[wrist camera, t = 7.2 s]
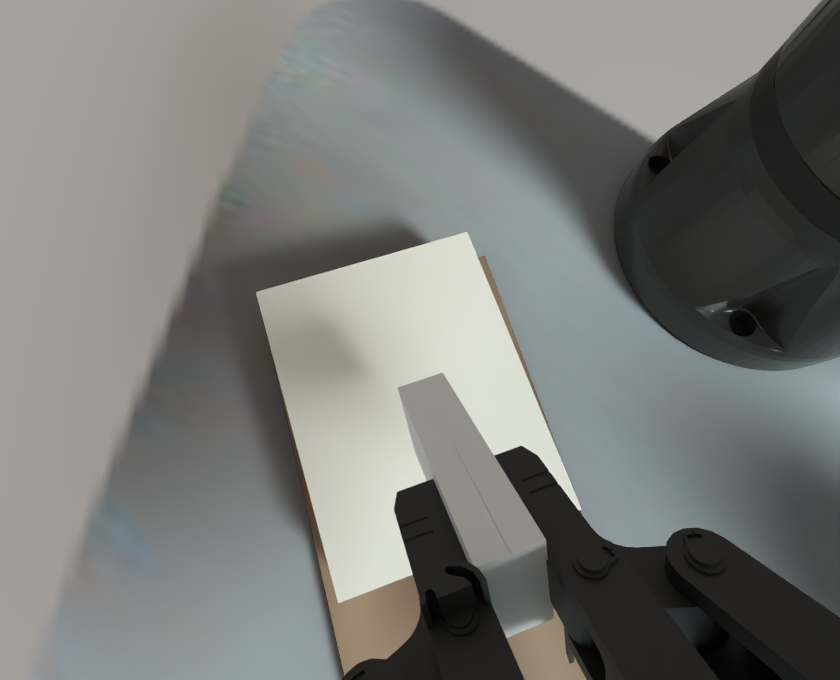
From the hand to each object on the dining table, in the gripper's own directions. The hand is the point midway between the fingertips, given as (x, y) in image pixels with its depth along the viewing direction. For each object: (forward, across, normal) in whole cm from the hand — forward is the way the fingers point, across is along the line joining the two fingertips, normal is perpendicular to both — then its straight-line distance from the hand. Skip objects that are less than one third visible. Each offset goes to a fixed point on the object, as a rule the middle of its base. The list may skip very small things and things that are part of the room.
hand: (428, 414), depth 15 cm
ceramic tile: (+1, 0, -8) cm, 8 cm away
